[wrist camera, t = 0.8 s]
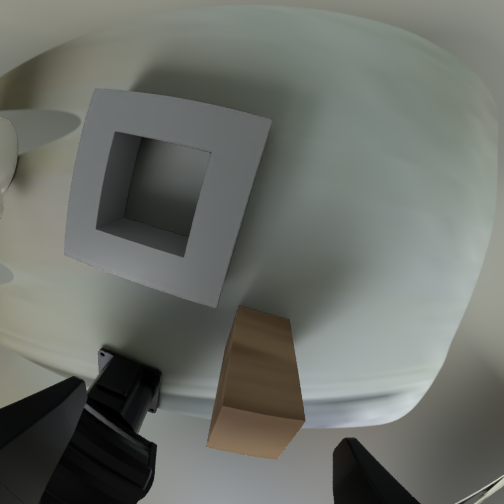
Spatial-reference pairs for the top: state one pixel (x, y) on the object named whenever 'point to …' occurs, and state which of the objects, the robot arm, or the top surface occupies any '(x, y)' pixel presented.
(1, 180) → the mug
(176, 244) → the well block
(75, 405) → the robot arm
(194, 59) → the top surface
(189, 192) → the top surface
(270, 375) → the walnut post
